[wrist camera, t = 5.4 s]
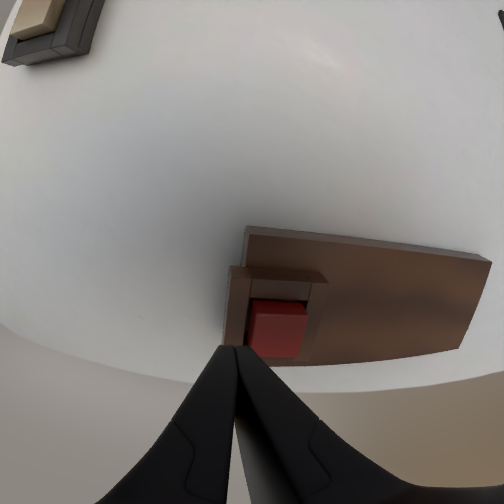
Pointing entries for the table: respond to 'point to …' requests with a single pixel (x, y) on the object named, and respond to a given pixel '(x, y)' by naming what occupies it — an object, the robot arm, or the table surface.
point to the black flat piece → (501, 17)
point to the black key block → (58, 36)
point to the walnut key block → (356, 295)
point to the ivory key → (37, 18)
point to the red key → (276, 328)
